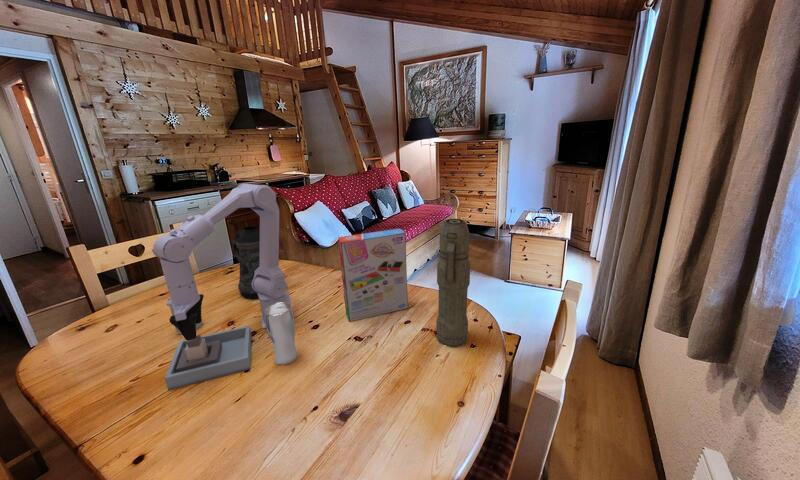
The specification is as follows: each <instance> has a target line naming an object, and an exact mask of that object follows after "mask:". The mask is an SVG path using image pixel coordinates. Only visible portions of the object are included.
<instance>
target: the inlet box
mask: <svg viewBox="0 0 800 480" xmlns="http://www.w3.org/2000/svg"><path fill="white" fill-rule="evenodd" d="M200 336H201V339H203V338H205V342H206V346H207V349H208V353H209V357H206V358H202V359H197V360H193V361H189V362H188V359H187V355H186V352H185V349H186V346H187V341H188V340H186V339H185V338H184V339H182V340H181V339H180V340H179V342H178V343H177V346H176V349H175V351H174V354H173V356H172V358H171V362H170V364H169V367H168V369H167V372H166V374H165V376H164V381H165V384H166V387H167V390H168V391H171V390H175V389H179V388H182V387H187V386H191V385H194V384H199V383H201V382H205V381H209V380H213V379H217V378H221V377H224V376H225V377H226V376H229V375H232V374H237V373H240V372H243V371H248V370H251V360H252V359H251V358H252V355H251V354H252V340H253V339H252V337H253V336H252V331H251V326H250V325H245V326H241V327H237V328H236V327H235V328H231V329H228V330H223V331H217V332H214V333H208V334H205V335H200Z"/></svg>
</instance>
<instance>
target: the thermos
mask: <svg viewBox="0 0 800 480" xmlns="http://www.w3.org/2000/svg"><path fill="white" fill-rule="evenodd" d="M469 249H470V231H469V227H468V222H467V221H466V220H464V219H460V218H448V219H446V220H444V221H443V222H442V224H441V227H440V230H439V256H438V257H439V258H438V261H437V264H436V283H437V285H438V304H437V305H438V306H437V307H438V311H437V312H438V313H437V314H438V315H437V317H436V324H435V325H436V327H435V328H436V329H435V330H436V339H438V340H437V342H439V344H441V345H442V346H444V345H446V346H445V347H448V346H450V347H449V348H458V346H459V347H462V346H464V345H465V344H466V343H467V341H468V333H469V319H468V316H467V314H468V313H467V312H468V289H469V286H470V284H471V283H470V281H471V280H470V279H471V263H470V260H469V253H468V252H469ZM463 344H464V345H463ZM461 345H462V346H461Z"/></svg>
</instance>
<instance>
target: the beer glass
mask: <svg viewBox="0 0 800 480" xmlns="http://www.w3.org/2000/svg"><path fill="white" fill-rule="evenodd" d="M291 306H292V303H291V304H289V303H286V302H280V303H275V304H272V305H270V306H268V307H267V308H266V309H265V311H264V312H265V321H266V328H265V329H266V330H267V334H268V337H269V339H270V342H271V344H272V346H273V350H274V351H273V352H274V354H273V360H274V363H276V364H277V365H281V366H282V365H288V364H291V363H292V362H295V360H297V358H298V357H299V354H298V353H299V352H298V351H297V346H296V344H295V337H296V336H295V333H296V324H295V323H296V322H295V317H294V313H293V312H294V310H293V311H292V307H293V306H292V307H291Z"/></svg>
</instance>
